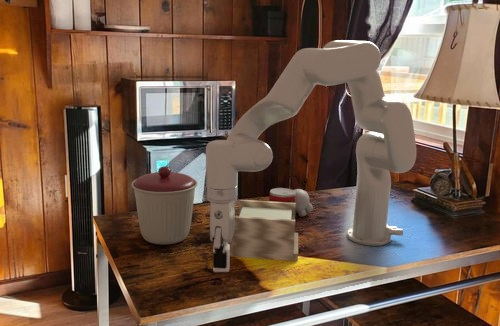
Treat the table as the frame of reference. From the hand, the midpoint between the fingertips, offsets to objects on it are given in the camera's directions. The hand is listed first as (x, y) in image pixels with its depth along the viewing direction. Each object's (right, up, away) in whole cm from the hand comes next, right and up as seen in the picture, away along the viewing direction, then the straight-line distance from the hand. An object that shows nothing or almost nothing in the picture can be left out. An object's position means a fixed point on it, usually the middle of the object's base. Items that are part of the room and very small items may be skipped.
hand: (221, 262), depth 122 cm
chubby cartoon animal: (+21, +7, +41) cm, 47 cm away
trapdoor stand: (+11, +1, +15) cm, 19 cm away
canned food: (+17, +5, +32) cm, 36 cm away
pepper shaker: (0, -2, +1) cm, 2 cm away
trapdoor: (+11, +8, +13) cm, 19 cm away
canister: (-17, +3, +19) cm, 26 cm away
